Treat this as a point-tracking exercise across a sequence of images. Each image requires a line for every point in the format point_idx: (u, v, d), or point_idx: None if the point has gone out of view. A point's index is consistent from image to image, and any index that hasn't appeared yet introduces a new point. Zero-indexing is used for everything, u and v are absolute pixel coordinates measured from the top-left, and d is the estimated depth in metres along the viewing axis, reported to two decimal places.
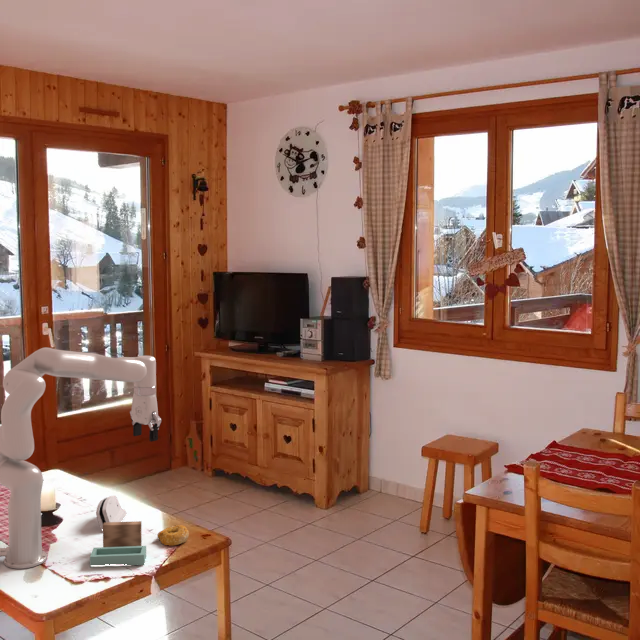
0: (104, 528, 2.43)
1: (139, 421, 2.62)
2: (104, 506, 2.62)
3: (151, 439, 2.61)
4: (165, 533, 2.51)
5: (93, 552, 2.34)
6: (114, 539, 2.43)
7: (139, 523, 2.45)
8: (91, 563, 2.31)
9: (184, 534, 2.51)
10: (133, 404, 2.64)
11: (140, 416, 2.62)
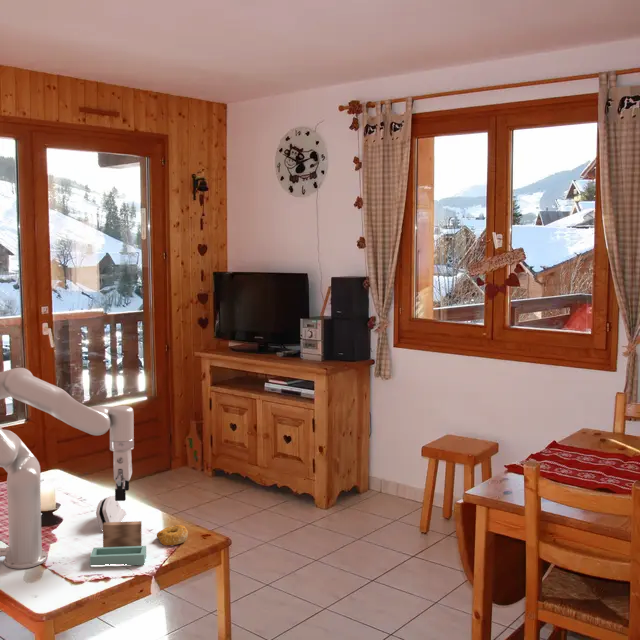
0: (104, 528, 2.43)
1: None
2: (104, 506, 2.62)
3: None
4: (164, 533, 2.51)
5: (93, 552, 2.34)
6: (114, 539, 2.43)
7: (139, 523, 2.45)
8: (91, 563, 2.31)
9: (183, 534, 2.51)
10: (129, 462, 2.40)
11: (131, 468, 2.44)
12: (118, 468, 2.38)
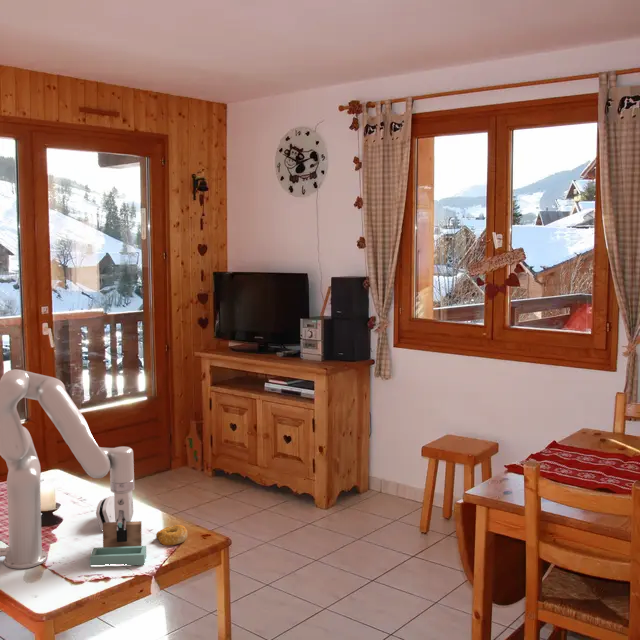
0: (104, 528, 2.43)
1: (132, 515, 2.45)
2: (104, 506, 2.62)
3: None
4: (164, 533, 2.51)
5: (93, 552, 2.34)
6: (114, 539, 2.43)
7: (139, 523, 2.45)
8: (91, 563, 2.31)
9: (183, 534, 2.51)
10: (130, 503, 2.41)
11: (132, 508, 2.46)
12: (119, 509, 2.39)
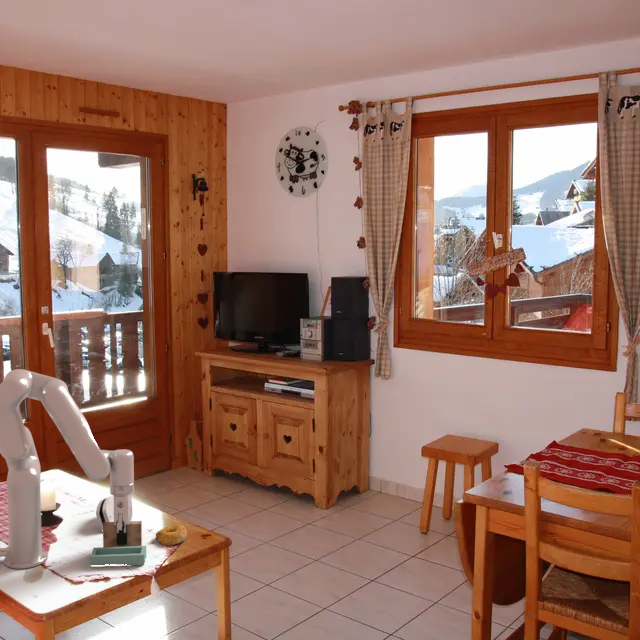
0: (104, 528, 2.43)
1: (131, 518, 2.45)
2: (104, 506, 2.62)
3: None
4: (163, 533, 2.51)
5: (93, 552, 2.34)
6: (115, 539, 2.43)
7: (139, 523, 2.45)
8: (91, 563, 2.31)
9: (182, 533, 2.51)
10: (129, 506, 2.41)
11: (131, 511, 2.46)
12: (118, 512, 2.39)
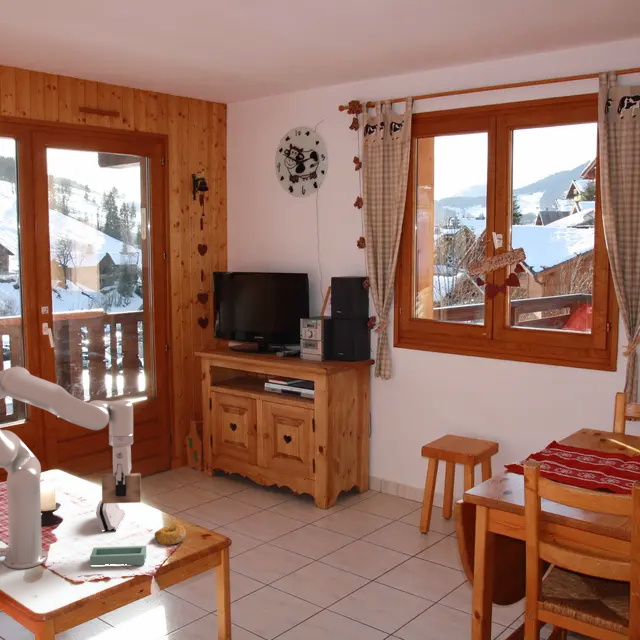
0: (103, 479, 2.40)
1: (130, 470, 2.43)
2: (104, 507, 2.61)
3: None
4: (162, 532, 2.51)
5: (93, 552, 2.34)
6: (114, 491, 2.41)
7: (139, 475, 2.42)
8: (91, 563, 2.31)
9: (181, 533, 2.52)
10: (128, 457, 2.39)
11: (130, 463, 2.43)
12: (117, 463, 2.37)
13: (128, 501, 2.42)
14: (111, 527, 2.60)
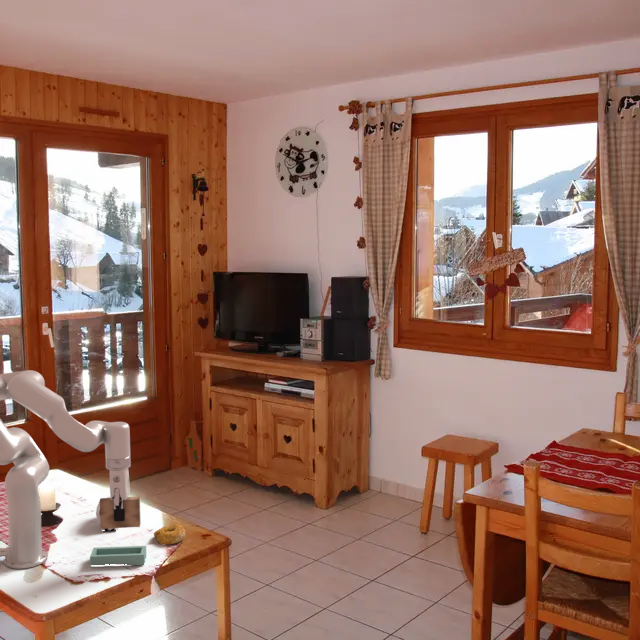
0: (101, 504, 2.32)
1: (128, 493, 2.34)
2: None
3: None
4: (162, 532, 2.52)
5: (93, 552, 2.34)
6: (112, 515, 2.33)
7: (137, 498, 2.34)
8: (91, 563, 2.31)
9: (181, 533, 2.52)
10: (126, 480, 2.30)
11: (128, 487, 2.35)
12: (115, 487, 2.28)
13: (127, 526, 2.34)
14: None
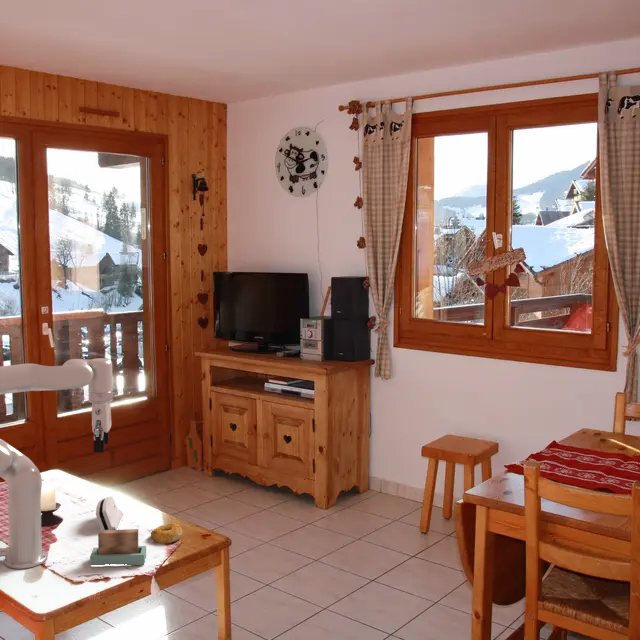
0: (99, 536, 2.33)
1: (110, 427, 2.45)
2: (104, 507, 2.61)
3: None
4: (159, 531, 2.52)
5: (93, 552, 2.34)
6: (110, 548, 2.34)
7: (136, 531, 2.35)
8: (91, 563, 2.31)
9: (178, 532, 2.53)
10: (107, 413, 2.41)
11: (110, 421, 2.45)
12: (96, 419, 2.39)
13: None
14: (111, 527, 2.59)
